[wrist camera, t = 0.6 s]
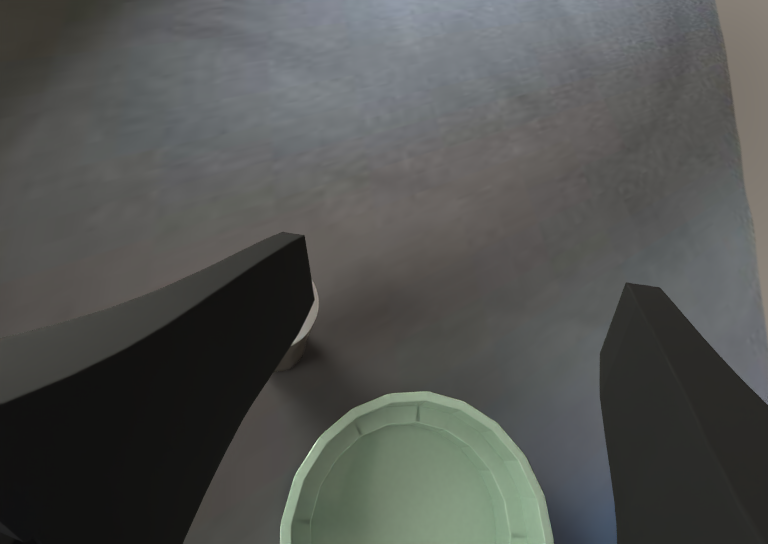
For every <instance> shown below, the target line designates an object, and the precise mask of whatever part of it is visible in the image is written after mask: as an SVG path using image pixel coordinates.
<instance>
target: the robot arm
mask: <svg viewBox="0 0 768 544" xmlns="http://www.w3.org/2000/svg"><path fill="white" fill-rule="evenodd" d="M314 301H315V298H314V291H313V285H312V279H311V273H310V267H309V260H308V254H307V248H306V242H305V236H304V235H299V234H292V233H285V232H281V233H279V234H276V235H274V236H271V237H269V238H267V239H265V240H262V241H260V242H258V243H256V244H254V245H252V246H250V247H248V248H246V249H244V250H242V251H240V252H238V253H236V254H234V255H232V256H230V257H228V258H226V259H224V260H222V261H220V262H218V263H216V264H213V265H211V266H209V267H207V268H205V269H203V270H201V271H199V272H196V273H194V274H192V275H190V276H188V277H185V278H183V279H181V280H179V281H177V282H174V283H172V284H170V285H168V286H165V287H163V288H161V289H158V290H156V291H154V292H151V293H148V294H146V295H143V296H141V297H138V298H135V299H133V300H130V301H127V302H124V303H122V304H119V305H116V306H113V307H110V308H107V309H104V310H101V311H98V312H95V313H91V314H88V315H85V316H81V317H78V318H75V319H71V320H68V321H65V322H62V323H58V324H55V325H51V326H47V327H43V328H39V329H36V330H32V331H28V332H24V333H19V334H15V335H11V336H6V337H2V338H0V544H183V542H184V539H185V537H186V535H187V533H188V530H189V528H190V526H191V524H192V521H193V519H194V517H195V515H196V513H197V510H198V508H199V506H200V504H201V502H202V499H203V497H204V495H205V493H206V491H207V489H208V487H209V485H210V483H211V480H212V478H213V476H214V474H215V472H216V470H217V468H218V466H219V464H220V462H221V460H222V458H223V456H224V454H225V452H226V450H227V448H228V446H229V445H230V443H231V441H232V439H233V437H234V435H235V433H236V431H237V429H238V427H239V426H240V424H241V422H242V420H243V418H244V417H245V415H246V413H247V412H248V410H249V408H250V407H251V405H252V403H253V402H254V400H255V399H256V397H257V396H258V394H259V393H260V391H261V390H262V388H263V387H264V385H265V384H266V382H267V381H268V379H269V378H270V376H271V375H272V374H273V372H274V371H275V369H276V368H277V366H278V365H279V363H280V362H281V360H282V359H283V357H284V356H285V354H286V353H287V351H288V349H289V348H290V346H291V345H292V343H293V342H294V340H295V339H296V337H297V336H298V334H299V332H300V330H301V328H302V326H303V324H304V322H305V320H306V318H307V316H308V314H309V312H310V309H311V307H312V305H313V303H314ZM600 401H601V409H602V416H603V423H604V431H605V438H606V445H607V452H608V459H609V466H610V473H611V480H612V487H613V494H614V501H615V512H616V522H617V544H768V405H767V404H766V403H765V402H764V401H763V400H762V399H761V398H760V397H759V396H758V395H757V394H756V393H755V392H754V391H753V390H752V389H751V388H750V387H749V386H748V385H747V384H746V383H745V382H744V381H743V380H742V379H741V378H740V377H739V376H738V375H737V374H736V373H735V372H734V371H733V370H732V369H731V368H730V366H729V365H728V364H727V363H726V362H725V361H724V360H723V359H722V358H721V357H720V356H719V355H718V353H717V352H716V351H715V350H714V349H713V348H712V347H711V346H710V345H709V343H708V342H707V341H706V340H705V339H704V338H703V337H702V336H701V334H700V333H699V332H698V331H697V330H696V329H695V327H694V326H693V325H692V324H691V323H690V322H689V321H688V319H687V318H686V317H685V316H684V315H683V314H682V312H681V311H680V310H679V309H678V308H677V307H676V305H675V304H674V303H673V302H672V301H671V300H670V298H669V297H668V296H667V295H666V294H665V293H664V292H663V291H662V289H661V288H660V287H653V286H646V285H639V284H632V283H626V284H625V287H624V289H623V292H622V295H621V298H620V300H619V303H618V306H617V308H616V311H615V314H614V317H613V319H612V322H611V325H610V328H609V330H608V333H607V336H606V338H605V341H604V344H603V347H602V349H601V352H600Z"/></svg>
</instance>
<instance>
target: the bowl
mask: <svg viewBox="0 0 768 544" xmlns="http://www.w3.org/2000/svg"><path fill="white" fill-rule="evenodd" d="M280 544H554V539H553V534H552V529H551V524H550V519H549V514H548V509H547V504H546V499H545V496H544V493H543V491H542V489H541V487H540V485H539V483H538V481H537V479H536V477H535V474H534V472H533V470H532V468H531V466H530V464H529V462H528V460H527V458H526V456H525V455H524V453H523V452H522V451H521V450H520V449H519V447H518V446H517V445H516V444H515V443H514V442H513V440H512V439H511V438H510V437H509V436H508V435H507V433H506V432H505V431H504V430H503V429H502V428H501V427H500V425H499V424H498V423H497V422H495V421H494V420H492V419H491V418H489V417H488V416H486V415H484V414H483V413H481V412H480V411H478V410H477V409H475V408H474V407H472V406H471V405H469V404H467V403H466V402H464V401H461V400H458V399H454V398H450V397H447V396H443V395H440V394H436V393H432V392H429V391H421V392H404V393H390V394H386V395H384V396H381V397H379V398H376V399H374V400H372V401H369V402H367V403H364V404H362V405H359V406H357V407H354V408H353V409H351V410H350V411H349V412H347V413H346V414H345V415H344V416H343V417H342V418H340V419H339V420H338V421H337V422H336V423H335V424H333V425H332V426H331V427H330V428H329V429H327V430H326V431H325V432H324V433H323V434H322V435H321V436H320V437H319V438H318V440H317V441H316V443H315V444H314V446H313V447H312V449H311V451H310V452H309V454H308V455H307V457H306V458H305V460H304V462H303V463H302V465H301V466H300V468H299V469H298V471H297V473H296V474H295V477H294V479H293V483H292V486H291V489H290V493H289V496H288V500H287V503H286V506H285V510H284V513H283V517H282V520H281V525H280Z"/></svg>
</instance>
